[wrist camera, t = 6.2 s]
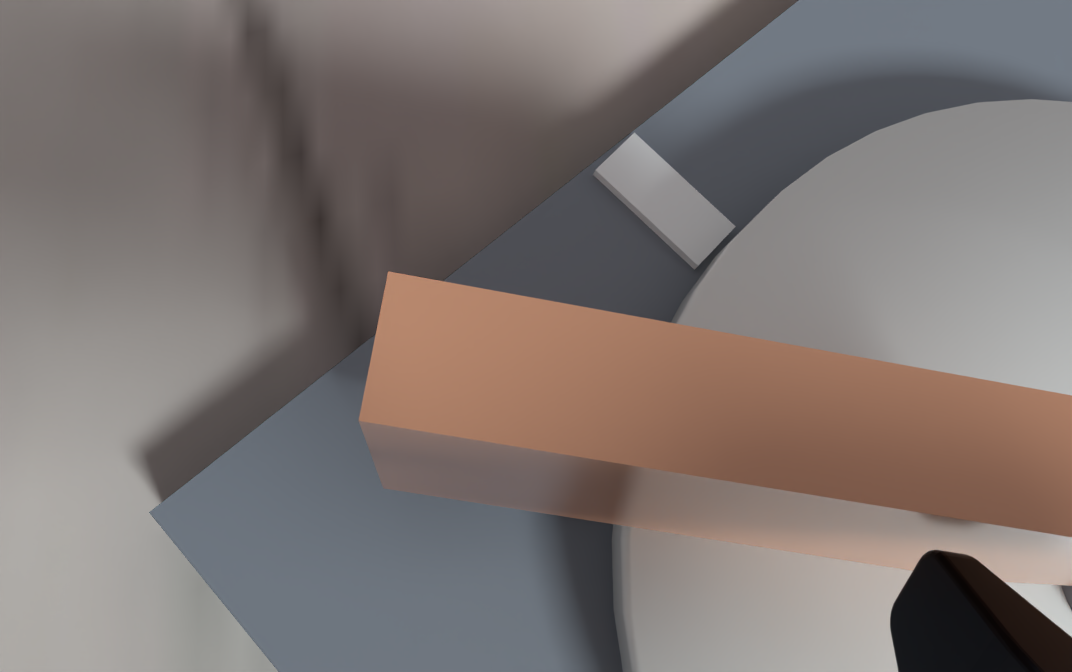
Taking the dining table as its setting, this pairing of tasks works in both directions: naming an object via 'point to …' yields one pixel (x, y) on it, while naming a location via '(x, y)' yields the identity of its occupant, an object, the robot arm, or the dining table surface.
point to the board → (589, 281)
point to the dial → (783, 402)
